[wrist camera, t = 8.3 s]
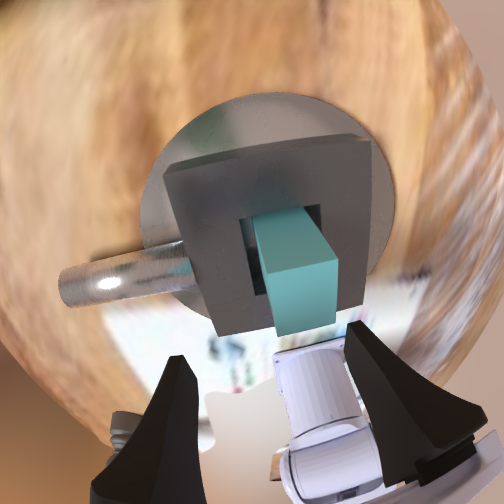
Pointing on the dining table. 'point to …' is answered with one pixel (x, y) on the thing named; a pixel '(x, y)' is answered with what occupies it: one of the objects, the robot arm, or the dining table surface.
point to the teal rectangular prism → (296, 270)
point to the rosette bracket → (247, 209)
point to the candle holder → (122, 430)
